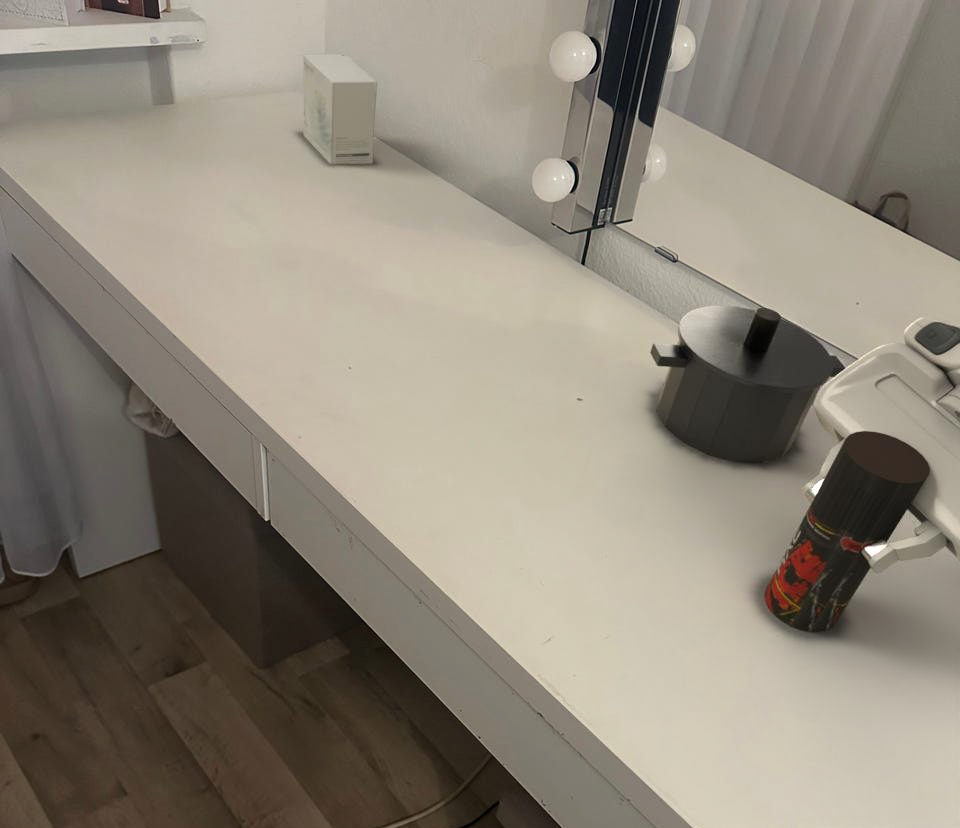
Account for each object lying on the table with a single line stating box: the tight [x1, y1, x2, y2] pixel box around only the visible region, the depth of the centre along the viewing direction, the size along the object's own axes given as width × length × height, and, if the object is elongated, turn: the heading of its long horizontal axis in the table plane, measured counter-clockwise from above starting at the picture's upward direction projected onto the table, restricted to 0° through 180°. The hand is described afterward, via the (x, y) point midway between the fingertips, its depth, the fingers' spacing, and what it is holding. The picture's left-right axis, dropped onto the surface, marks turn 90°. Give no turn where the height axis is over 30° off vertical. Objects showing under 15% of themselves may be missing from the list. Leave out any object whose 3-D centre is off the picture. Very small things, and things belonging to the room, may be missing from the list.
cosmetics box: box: [302, 53, 378, 165], centre depth 120 cm, size 10×6×10 cm, turn 28°
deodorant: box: [763, 431, 930, 633], centre depth 67 cm, size 6×6×15 cm
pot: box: [649, 339, 847, 465], centre depth 87 cm, size 14×19×8 cm
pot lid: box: [677, 305, 833, 392], centre depth 83 cm, size 15×15×4 cm
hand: (837, 530), depth 66 cm, fingers closed on deodorant, 6 cm apart
